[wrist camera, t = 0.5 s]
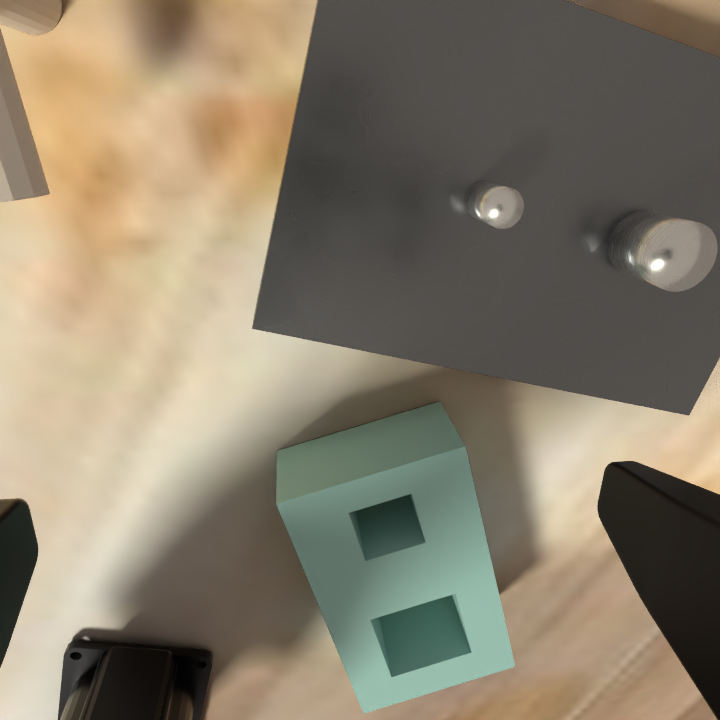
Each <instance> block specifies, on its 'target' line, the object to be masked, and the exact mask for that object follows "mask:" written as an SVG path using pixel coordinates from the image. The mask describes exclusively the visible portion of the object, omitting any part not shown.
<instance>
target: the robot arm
mask: <svg viewBox="0 0 720 720" xmlns="http://www.w3.org/2000/svg"><path fill="white" fill-rule="evenodd" d="M598 514H599V518H600V520H601V522H602V524H603V526H604V528H605V530H606V532H607V534H608V536H609V538H610V540H611V542H612V544H613V546H614V548H615V550H616V552H617V554H618V556H619V557H620V559H621V561H622V563H623V565H624V567H625V569H626V571H627V573H628V575H629V577H630V579H631V581H632V583H633V585H634V587H635V589H636V591H637V592H638V594H639V596H640V598H641V600H642V601H643V603H644V605H645V606H646V608H647V610H648V611H649V613H650V615H651V616H652V618H653V619H654V621H655V622H656V624H657V626H658V627H659V629H660V630H661V632H662V633H663V635H664V637H665V638H666V640H667V641H668V643H669V644H670V646H671V648H672V649H673V651H674V652H675V654H676V655H677V657H678V658H679V660H680V662H681V663H682V665H683V666H684V668H685V669H686V671H687V673H688V674H689V676H690V677H691V679H692V680H693V682H694V684H695V685H696V687H697V688H698V690H699V691H700V693H701V695H702V696H703V698H704V699H705V701H706V702H707V704H708V705H709V707H710V709H711V710H712V712H713V713H714V715H715V716H716V718H717V720H720V495H719V494H717V493H714V492H712V491H709V490H707V489H704V488H701V487H699V486H696V485H694V484H691V483H689V482H686V481H684V480H681V479H678V478H676V477H673V476H671V475H668V474H666V473H663V472H661V471H658V470H655V469H653V468H650V467H648V466H645V465H643V464H640V463H638V462H634V461H623V462H612V463H610V464H608V465H607V467H606V468H605V471H604V476H603V481H602V485H601V490H600V495H599V499H598ZM37 557H38V543H37V539H36V534H35V530H34V526H33V522H32V517H31V513H30V509H29V506H28V504H27V502H26V501H24V500H23V499H20V498H17V499H0V667H1V665H2V662H3V660H4V657H5V654H6V651H7V649H8V646H9V643H10V640H11V637H12V634H13V631H14V628H15V625H16V622H17V619H18V616H19V613H20V610H21V607H22V604H23V601H24V598H25V595H26V592H27V589H28V586H29V583H30V580H31V577H32V574H33V571H34V568H35V565H36V562H37ZM212 661H213V655H212V653H211V652H210V651H208V650H203V649H189V648H176V647H162V646H149V645H136V644H122V643H109V642H95V641H82V640H77V641H73V642H71V643H69V644H68V646H67V649H66V651H65V654H64V660H63V670H62V681H61V692H60V702H59V713H58V720H200V716H201V712H202V707H203V703H204V698H205V694H206V690H207V685H208V681H209V676H210V672H211V667H212Z"/></svg>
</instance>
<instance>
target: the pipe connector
mask: <svg viewBox="0 0 720 720" xmlns="http://www.w3.org/2000/svg"><path fill="white" fill-rule="evenodd" d="M61 13H62V1H61V0H0V24H1V25H4V26H7V27H10V28H12V29H15V30H18V31H21V32H24V33H27V34H30V35H41V34H45V33H47V32H49V31H51V30H52V29H53V28H54V27H55V26H56V25H57V24H58V22H59V19H60V17H61ZM49 193H50V192H49V189H48V185H47V182H46V179H45V175H44V172H43V169H42V165H41V162H40V159H39V155H38V152H37V149H36V146H35V142H34V139H33V136H32V132H31V129H30V126H29V122H28V119H27V116H26V112H25V109H24V106H23V102H22V99H21V96H20V92H19V89H18V86H17V82H16V79H15V76H14V72H13V69H12V66H11V63H10V59H9V56H8V53H7V49H6V46H5V43H4V39H3V36H2V33H1V29H0V202H6V201H14V200H21V199H27V198H34V197H39V196H43V195H48V194H49Z"/></svg>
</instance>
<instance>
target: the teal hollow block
mask: <svg viewBox="0 0 720 720" xmlns="http://www.w3.org/2000/svg"><path fill="white" fill-rule="evenodd" d="M276 505H277V507H278V510H279V512H280V515H281V517H282V519H283V522H284V524H285V527H286V529H287V531H288V534H289V536H290V539H291V541H292V543H293V546H294V548H295V550H296V553H297V555H298V558H299V560H300V562H301V565H302V567H303V570H304V572H305V574H306V577H307V579H308V582H309V584H310V586H311V589H312V591H313V593H314V596H315V598H316V601H317V603H318V605H319V608H320V610H321V613H322V615H323V617H324V620H325V622H326V625H327V627H328V629H329V632H330V634H331V636H332V639H333V641H334V644H335V646H336V648H337V651H338V653H339V656H340V658H341V660H342V663H343V665H344V668H345V670H346V672H347V675H348V677H349V679H350V682H351V684H352V687H353V689H354V691H355V694H356V696H357V699H358V701H359V703H360V706H361V708H362V711H363V713H367V712H370V711H374V710H377V709H380V708H383V707H386V706H390V705H393V704H396V703H399V702H403V701H406V700H409V699H412V698H416V697H419V696H422V695H425V694H428V693H432V692H435V691H438V690H441V689H445V688H448V687H451V686H454V685H458V684H461V683H464V682H467V681H470V680H474V679H477V678H480V677H483V676H487V675H490V674H493V673H496V672H500V671H503V670H506V669H509V668H512V667H515V663H514V659H513V654H512V650H511V645H510V641H509V637H508V632H507V628H506V623H505V619H504V614H503V610H502V606H501V601H500V597H499V592H498V588H497V583H496V579H495V574H494V570H493V566H492V561H491V557H490V552H489V548H488V543H487V539H486V535H485V530H484V526H483V521H482V517H481V512H480V508H479V504H478V499H477V495H476V490H475V486H474V481H473V477H472V472H471V468H470V464H469V459H468V455H467V450H466V446H465V444H464V443H463V441H462V439H461V437H460V435H459V434H458V432H457V430H456V428H455V427H454V425H453V423H452V421H451V420H450V418H449V416H448V414H447V413H446V411H445V409H444V407H443V406H442V404H441V402H440V401H439V402H436V403H433V404H429V405H426V406H423V407H419V408H416V409H413V410H409V411H406V412H403V413H400V414H396V415H393V416H390V417H386V418H383V419H380V420H377V421H373V422H370V423H367V424H363V425H360V426H357V427H354V428H350V429H347V430H344V431H340V432H337V433H334V434H331V435H327V436H324V437H321V438H317V439H314V440H311V441H307V442H304V443H301V444H298V445H294V446H291V447H288V448H284V449H281V450H278V451H277V479H276Z"/></svg>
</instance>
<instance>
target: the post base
mask: <svg viewBox="0 0 720 720" xmlns="http://www.w3.org/2000/svg"><path fill="white" fill-rule="evenodd" d="M252 329H257V330H262V331H267V332H272V333H277V334H282V335H287V336H292V337H297V338H302V339H307V340H312V341H317V342H322V343H327V344H332V345H337V346H342V347H347V348H352V349H357V350H362V351H367V352H372V353H377V354H382V355H387V356H392V357H398V358H403V359H408V360H413V361H418V362H423V363H428V364H433V365H438V366H443V367H448V368H453V369H458V370H463V371H468V372H473V373H478V374H483V375H488V376H493V377H498V378H503V379H508V380H513V381H518V382H523V383H528V384H533V385H538V386H543V387H548V388H553V389H558V390H563V391H568V392H573V393H579V394H584V395H589V396H594V397H599V398H604V399H609V400H614V401H619V402H624V403H629V404H634V405H639V406H644V407H649V408H654V409H659V410H664V411H669V412H674V413H679V414H684V415H690V413H691V411H692V409H693V407H694V405H695V403H696V401H697V399H698V398H699V396H700V394H701V392H702V390H703V388H704V386H705V384H706V382H707V380H708V379H709V377H710V375H711V373H712V371H713V369H714V367H715V365H716V363H717V362H718V360H719V358H720V57H717V56H714V55H712V54H709V53H706V52H704V51H701V50H698V49H695V48H693V47H690V46H687V45H685V44H682V43H679V42H677V41H674V40H671V39H668V38H666V37H663V36H660V35H658V34H655V33H652V32H649V31H647V30H644V29H641V28H639V27H636V26H633V25H630V24H628V23H625V22H622V21H620V20H617V19H614V18H611V17H609V16H606V15H603V14H601V13H598V12H595V11H592V10H590V9H587V8H584V7H582V6H579V5H576V4H573V3H571V2H568V1H565V0H317V5H316V10H315V15H314V20H313V25H312V30H311V35H310V40H309V45H308V50H307V55H306V60H305V65H304V69H303V74H302V79H301V84H300V89H299V94H298V99H297V104H296V109H295V114H294V119H293V124H292V129H291V134H290V139H289V144H288V149H287V154H286V159H285V164H284V169H283V174H282V179H281V184H280V189H279V194H278V199H277V204H276V209H275V214H274V219H273V224H272V229H271V234H270V239H269V244H268V249H267V254H266V259H265V264H264V269H263V274H262V279H261V284H260V289H259V294H258V299H257V304H256V309H255V314H254V320H253V327H252Z"/></svg>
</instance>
